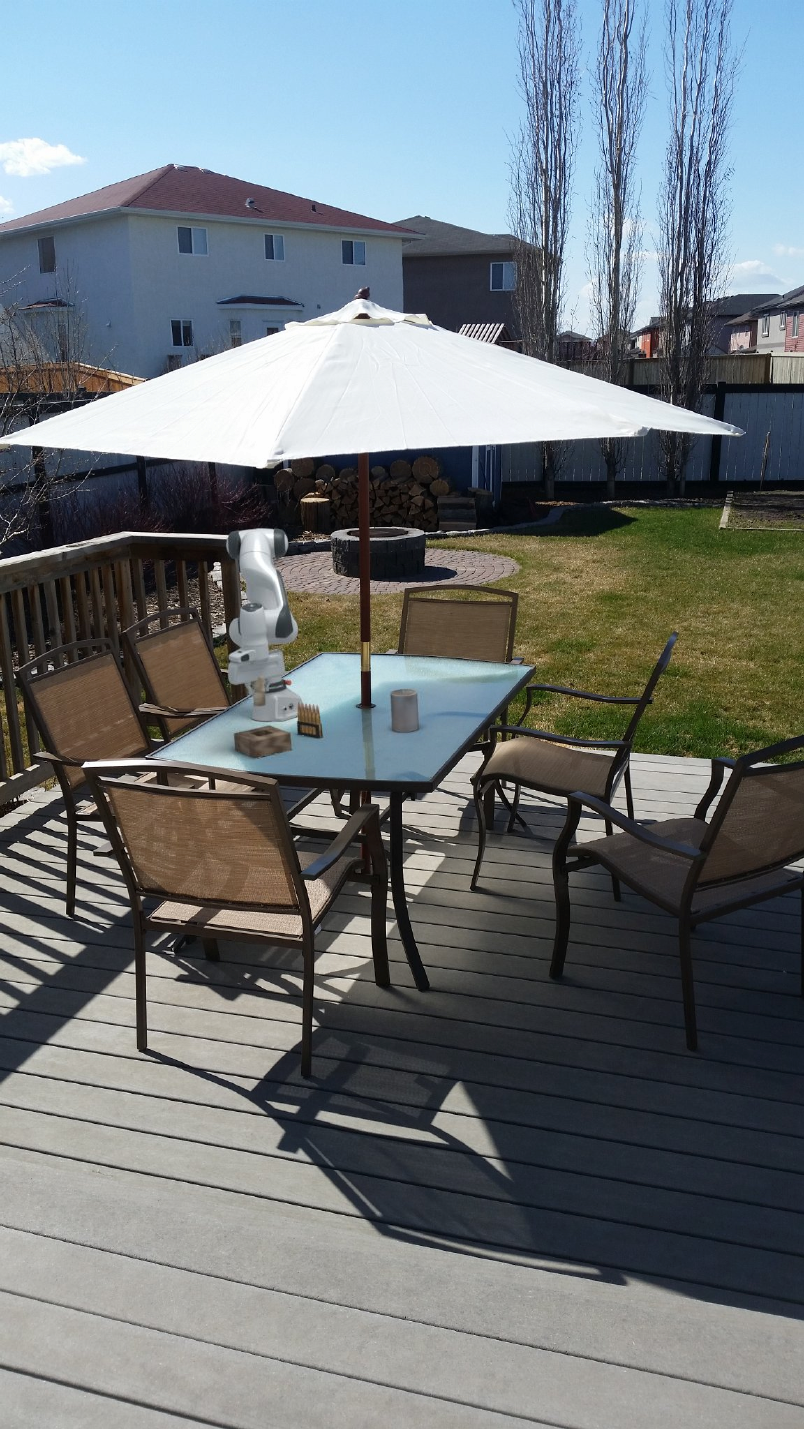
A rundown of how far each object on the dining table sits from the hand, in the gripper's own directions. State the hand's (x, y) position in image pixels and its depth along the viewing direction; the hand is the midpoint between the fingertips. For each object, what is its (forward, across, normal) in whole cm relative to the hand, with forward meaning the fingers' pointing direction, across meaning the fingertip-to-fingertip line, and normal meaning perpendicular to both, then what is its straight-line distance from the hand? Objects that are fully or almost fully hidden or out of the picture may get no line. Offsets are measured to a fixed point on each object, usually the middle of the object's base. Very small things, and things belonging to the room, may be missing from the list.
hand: (258, 692), depth 359 cm
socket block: (+20, 0, 0) cm, 20 cm away
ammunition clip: (+20, -21, -3) cm, 29 cm away
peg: (+4, 0, 0) cm, 4 cm away
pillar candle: (+20, -50, +15) cm, 56 cm away
